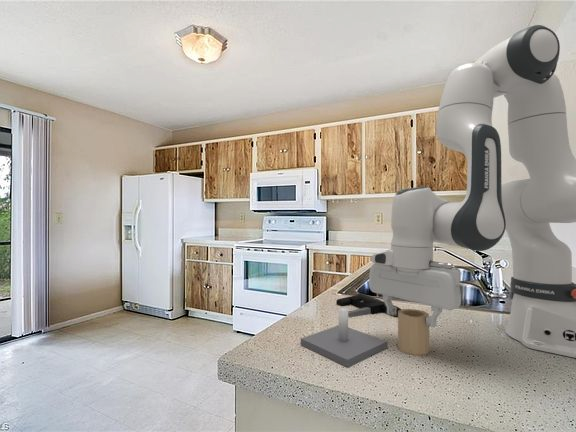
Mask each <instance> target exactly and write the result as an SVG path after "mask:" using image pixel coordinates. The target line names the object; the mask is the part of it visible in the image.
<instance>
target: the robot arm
mask: <svg viewBox="0 0 576 432" xmlns="http://www.w3.org/2000/svg"><path fill="white" fill-rule="evenodd" d="M560 47H561V46H560V40H559V37H558V35H557V34H556V33H555V32H554V31H553V30H552V29H551V28H549V27H547V26H545V25H543V24H535V25H532V26H528V27H525V28H523V29H522V30H519V31H517V32H516V33H514V34H513V35H512V36H510V37H508V38H507V39H504V40H502V41H501V42H500V43H497V44H496V45H494V46H492V47H491V48H489V50H487V52H486V53H485V52H484V54H482V55H481V56H480V57H478V58H477V60H475V61H473V62H467V63H463V64H461V65H459V66H457V67H455V68H454V69H453V70H452V71H451V72H450V74H449V75H448V77H447V79H446V81H445V83H444V88H443V91H442V94H441V97H440V101H439V106H438V111H437V116H436V117H437V118H436V125H435V126H436V127H435V131H436V137H437V139H438V141H439V142H440V143H441V144H442V145H443V146H444V147H446V148H447V149H449V150H452V151H455V152H458V153H459V152H460V153H462V154H463V155H464V156H465V158H466V163H467V164H466V167H467V168H466V169H467V170H466V193H465V194H466V195H465V197H464V199H463V200H462V201H453V202H452V201H449V200H448V199H445V198H443V197H440V196H439V195H438V194H436V193H435V192H433V191H432V189H431V187H429V186H427V185H426V186H424V185H423V186H416V187H409V188H404V189H400V190H399V191H397V192H396V193H395V194H394V196H393V200H392V201H393V202H392V207H391V220H390V221H391V224H390V225H391V230H392V238H391V242H390V249H389V250H384V251H381V252H376V253H373V254H371V259H370V260H371V262H372V265H371V266H370V269H369V277H368V281H369V282H368V288H369V289H370V291H371V292H372V293H375V294H379V295H382V301H384V303H385V305H386V307H387V313H386V314H387V315H388V316H393V317H395V316H394V315H396V310H397V307H398V306H397V307H394V306H395V305H394V304H393V302H392V299H393V298H397V299H401V300H405V301H408V302H413V303H417V304H422V305H426V306H430V309H431V312H433V313H432V314H431V315H429V317H426V325H427V326H429V328H430V327H431V328H435V327H437V324H438V323H437V321H438V320H437V318H438V317H439V316H440V315H441V313H442V312H443V310H447V311H454V310H455V309H456V310H457V309H458V308H459V307H460V306H461V304H462V296H461V287H460V285H461V274H462V273H461V271H460V269H459V268H458V267H457V266H455V265H454V264H453V263H450V262H440V261H434V243H437V244H438V243H439V244H444V245H448V246H454V247H455V246H456V247H460V248H464V249H468V250H471V251H476V252H483V251H484V252H485V251H486V250H490V249H492V248H494V246H495V245H497V244H498V243H499V241H501V239H502V238H503V236H504V234H505V232H506V233H507V236H508V239H509V243H510V245H511V256H512V257H511V258H512V276H511V277H510V284H509V287H510V288H509V291H510V292H509V293H510V299H511V308H510V314H509V318H508V322H507V326H506V328H505V333H506V335H508V336H509V337H510V338H512V339H514V340H515V341H518V342H519V343H521V344H522V345H523V346H524V347H526V348H529V349H532V350H536V351H542V352H546V353H551V354H556V355H561V356H565V357H568V358H569V357H570V358H575V359H576V283H574V282H573V267H572V266H573V264H572V262H573V261H572V257H573V255H572V251H571V248H570V247H569V246H568V244H567V243H565V242H563V241H562V240H561V239H559V238H557V236H556V235H555V233H554V232H553V230H552V228H551V225H550V224H551V223H552V224H572V223H576V157H575V156H574V154H573V151H572V148H571V145H570V140H569V139H570V138H569V132H568V131H569V130H568V121H567V120H568V119H567V107H566V101H565V94H564V90H563V88H562V83H561V81H560V78H559V77H558V76H557V75H556V74H555V72H556V70H557V66H558V61H559V58H560V49H561V48H560ZM501 96H504V98H505V100H506V102H507V103H508V106H507V129H508V130H507V131H508V133H507V134H508V136H507V137H508V151H509V156H510V157H511V158H512V159H513V160H514V161H516V162H519V163H521V164H523V165H524V167H525V168H526V170H527V173H528V176H529V178H527V179H519V180H511V181H509V182H507V183H504V184H502V144H501V143H502V142H501V138H500V133H499V131H497V129H496V128H495V127H494V126H493V123H492V118H493V117H492V116H493V109H494V99H495V98H497V97H501ZM393 305H394V306H393Z"/></svg>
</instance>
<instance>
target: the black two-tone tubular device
mask: <svg viewBox="0 0 576 432" xmlns="http://www.w3.org/2000/svg"><path fill="white" fill-rule="evenodd" d="M335 301H336V305H337V306H341V307H344V306H345V307H346V306H352V307H354V308H357V309H353V310H348V318H353V317H360V316H367V315H378V314H383V313H386V314H387V307H386V305H385V303H384V301H383V300H380V299H378V298H375V297H372V296H370V295H367V294H365V293H361V292H358V294H356V295H351V296H345V297H342V298H338V299H336V300H335ZM350 304H351V305H350ZM393 306H394V307H397V310H396V315H394V316H393V317H398V311H399V310H401V309H402V308H401V307H399V306H397V305H394V304H393Z"/></svg>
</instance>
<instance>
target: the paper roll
mask: <svg viewBox="0 0 576 432" xmlns="http://www.w3.org/2000/svg"><path fill="white" fill-rule="evenodd" d="M400 309H401V310H399V311H398V316H397V323H398V324H397V334H398V335H397V342H398V343H397V345H398V346H397V348H398V349H399V350H400V351H401V352H402V353H405V354H408V355H414V356H425V355H428V354H429V353H430V326H427V325H426V317H429V316H430V313H428V312H426V311H425V310H419V309H415V308H400Z"/></svg>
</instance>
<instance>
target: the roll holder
mask: <svg viewBox="0 0 576 432" xmlns="http://www.w3.org/2000/svg"><path fill="white" fill-rule="evenodd" d="M348 311H349V308H346V307H340V308H338V313H337V315H338V325H335V326H333V327H330V328H327V329H324V330H321V331H318V332H315V333H312V334H310V335H306V336H303V337H301V338H300V346H302V347H304V348H306V349H309V350H310V351H313V352H315V353H317V354H319V355H321V356H323V357H325V358H327V359H329V360H332V361H334V362H335V363H338V364H340V365H342V366H344V367H345V368H349V367H351V366H354V365H355V364H357V363H360V362H361V361H363V360H366V359H367V358H369V357H371V356H374V355H376V354H378V353H380V352H382V351H384V350H386V349H388V346H389V343H388V340H386V339H383V338H380V337H377V336H374V335H371V334H368V333H365V332H362V331H360V330H357V329H354V328H351V327H349V317H348Z"/></svg>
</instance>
